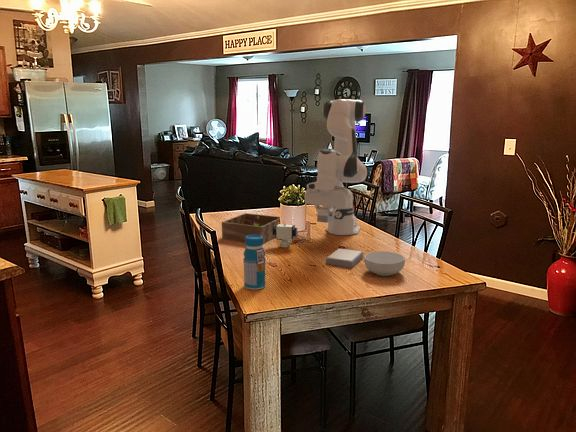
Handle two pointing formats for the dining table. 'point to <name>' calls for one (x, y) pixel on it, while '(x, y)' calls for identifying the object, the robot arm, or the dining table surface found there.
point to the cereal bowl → (384, 262)
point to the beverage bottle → (254, 263)
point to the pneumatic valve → (285, 233)
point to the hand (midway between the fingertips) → (325, 215)
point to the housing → (324, 214)
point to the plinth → (344, 258)
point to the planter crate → (249, 227)
